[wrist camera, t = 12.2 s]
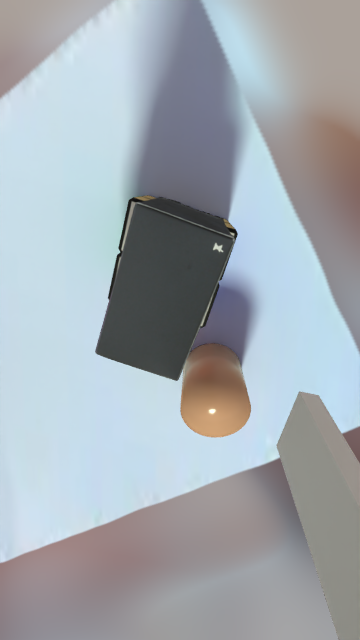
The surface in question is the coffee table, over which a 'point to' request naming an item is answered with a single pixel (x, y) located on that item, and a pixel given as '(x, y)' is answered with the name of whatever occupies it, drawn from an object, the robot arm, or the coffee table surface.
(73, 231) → the coffee table surface
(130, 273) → the small box
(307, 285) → the coffee table surface
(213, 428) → the tan rounded capsule
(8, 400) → the coffee table surface
